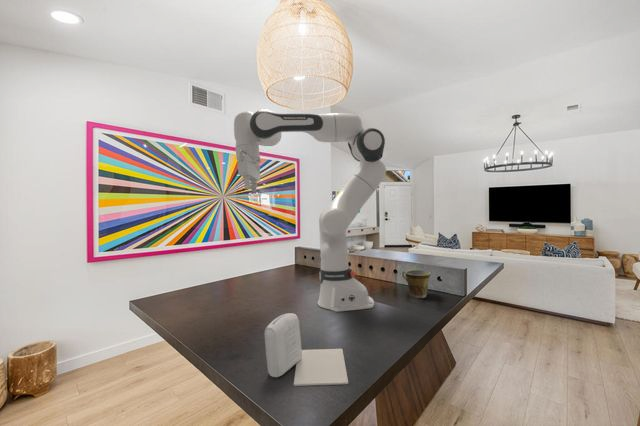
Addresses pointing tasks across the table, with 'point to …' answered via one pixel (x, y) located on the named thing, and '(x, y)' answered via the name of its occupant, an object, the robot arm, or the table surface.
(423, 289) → the ceramic cup
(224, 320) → the table surface
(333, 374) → the mat
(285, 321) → the photo printer
